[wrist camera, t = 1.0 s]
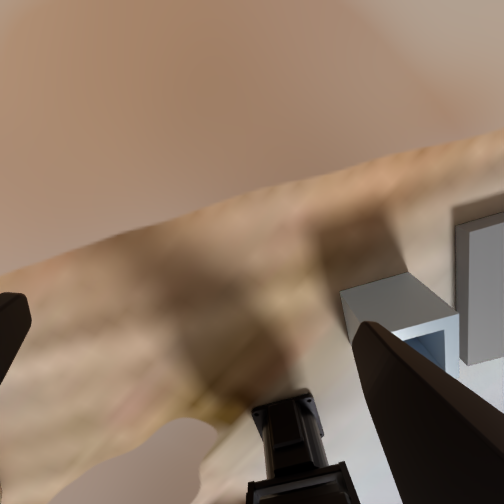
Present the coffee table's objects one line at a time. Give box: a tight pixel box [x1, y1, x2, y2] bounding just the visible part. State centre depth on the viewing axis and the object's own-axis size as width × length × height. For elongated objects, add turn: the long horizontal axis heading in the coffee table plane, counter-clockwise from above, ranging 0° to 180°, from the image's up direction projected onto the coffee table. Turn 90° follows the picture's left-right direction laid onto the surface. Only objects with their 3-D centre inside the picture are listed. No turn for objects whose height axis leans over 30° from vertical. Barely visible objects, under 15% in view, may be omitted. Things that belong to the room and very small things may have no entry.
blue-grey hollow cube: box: [340, 272, 459, 379], centre depth 23 cm, size 6×6×6 cm
